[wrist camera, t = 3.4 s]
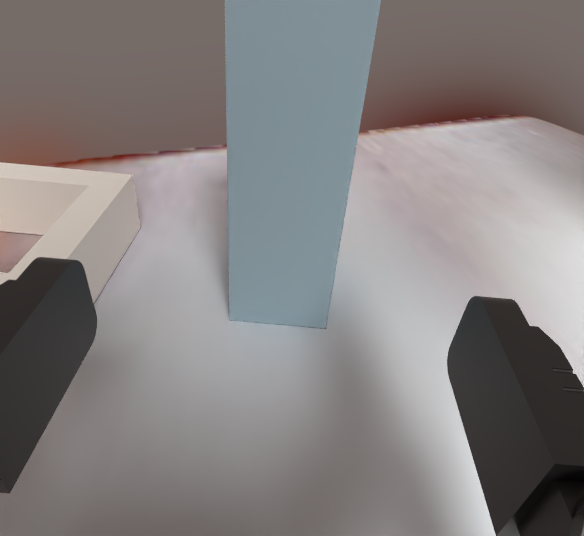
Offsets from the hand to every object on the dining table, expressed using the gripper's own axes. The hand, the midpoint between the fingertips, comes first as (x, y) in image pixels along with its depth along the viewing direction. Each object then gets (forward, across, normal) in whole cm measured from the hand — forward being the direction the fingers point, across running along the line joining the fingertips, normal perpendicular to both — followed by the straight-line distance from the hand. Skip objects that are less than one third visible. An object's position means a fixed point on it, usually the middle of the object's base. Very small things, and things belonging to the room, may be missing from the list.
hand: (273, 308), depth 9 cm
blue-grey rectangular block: (+9, 0, +7) cm, 11 cm away
